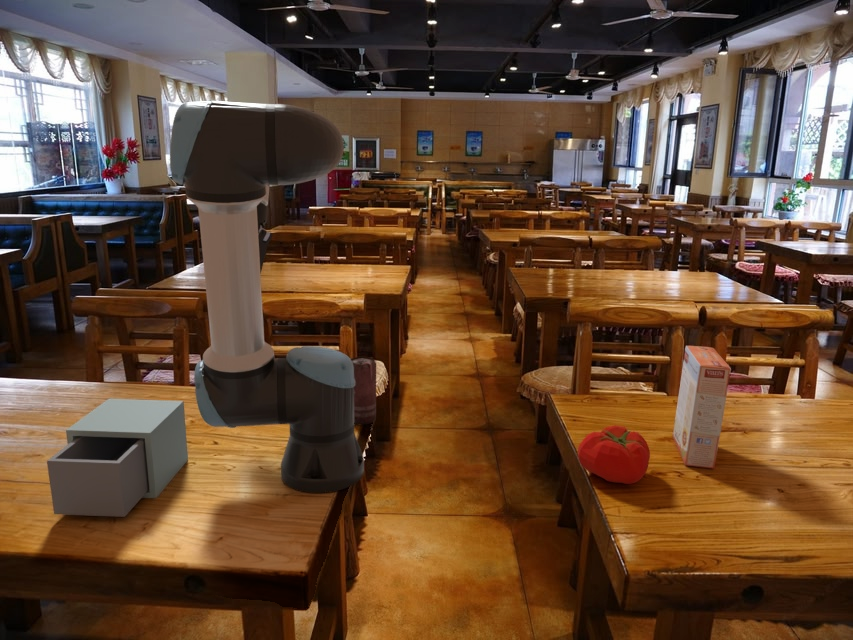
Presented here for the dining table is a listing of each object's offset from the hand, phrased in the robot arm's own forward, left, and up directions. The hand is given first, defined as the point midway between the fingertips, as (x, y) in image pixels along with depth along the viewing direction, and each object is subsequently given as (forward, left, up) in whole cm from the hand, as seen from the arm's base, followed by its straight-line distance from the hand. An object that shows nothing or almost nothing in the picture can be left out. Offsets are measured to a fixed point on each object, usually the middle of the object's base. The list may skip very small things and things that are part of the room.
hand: (240, 310), depth 134 cm
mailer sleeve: (-11, +27, -25) cm, 38 cm away
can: (-16, -20, -25) cm, 36 cm away
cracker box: (-71, -63, -25) cm, 98 cm away
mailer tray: (-13, +29, -23) cm, 40 cm away
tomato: (-67, -41, -25) cm, 82 cm away
